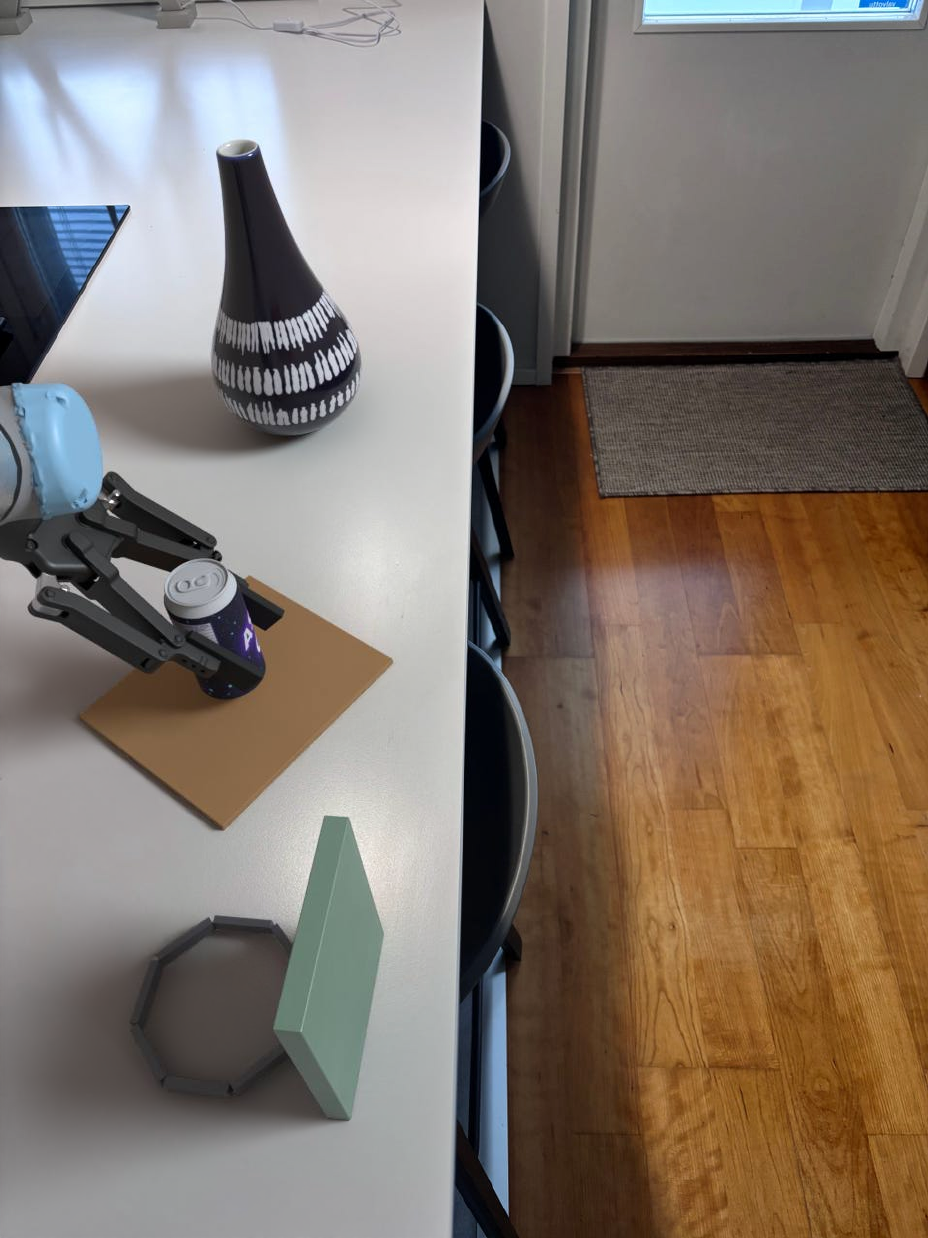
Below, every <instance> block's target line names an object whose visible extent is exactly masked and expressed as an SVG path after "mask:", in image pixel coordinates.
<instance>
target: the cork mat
mask: <svg viewBox="0 0 928 1238" xmlns="http://www.w3.org/2000/svg"><path fill="white" fill-rule="evenodd" d="M244 579H245V580H246V582H247V583H248V584H249V586H248V588H249V589H251V590H252V591H254V592H256V593H257V594H259V595H260V596H262V597H264V598H265V599H267V600H269V601H270V602H272V603H274V604H275V605H277V606H278V607H280V608H282V609H283V610H285V612H284V615H283V617H282V618H281V619H280V620H279V621H277V622H276V623H275V624H274V625H272V626H271V627H270V628H269V629H267V630H266V631H264V630H262V629H261V628H259V627H257V626H255V625H254V624H252V625H253V628H254V631H255V634H256V637H257V640H258V643H259V646H260V649H261V651H262V654H263V657H264V660H265V664H266V671H265V675H264V677H263V679H262V681H261V682H260V684H259V685H258V686H257V687H256V688H255V689H254V690H252V691H251V692H249V693H248V694H246V695H244V696H242V697H239V698H235V699H228V700H222V699H216V698H213V697H210V696H208V695H207V694H206V693H204V692H203V691H202V689H201V688H200V686H199V683H198V681H197V679H196V676H195V674H194V672H192V671H191V670H188V669H187V668H185V667H183V666H181V665H179V664H178V663H176V662H173V661H167V662H165V663H164V664H163V665H162V666H161V667H160V668H158V669H157V670H156V671H155V672H154V673H152V674H146V673H144V672H142V671H140V670H138V669H137V668H135V667H134V669H133V670H132V671H130V672H129V673H128V674H127V675H125V677H123V678H122V679H121V680H119V681H118V682H117V683H115V684H114V685H113V686H112V687H111V688H110V689H108V691H106V692H105V693H104V694H103V695H101V696H100V697H98V698H97V699H96V700H95V701H94V702H93V703H92V704H90V705H89V706H87V707H86V709H84V710H82V711H81V712H80V713H79V714H78V718H79V720H80V721H82V722H83V723H84V724H86V725H87V726H88V727H89V728H91V729H92V730H94V731H95V732H96V733H98V735H100V736H101V737H103V738H104V739H105V740H106V741H107V742H109V743H110V744H112V745H113V746H114V747H115V748H117V749H118V750H119V751H120V752H122V754H124V755H126V756H127V757H128V758H130V759H131V760H132V761H134V762H135V763H136V764H137V765H139V766H140V767H141V768H143V769H144V770H145V771H146V772H148V773H149V774H151V776H153V777H154V778H156V779H157V780H158V781H159V782H161V783H162V784H163V785H165V786H166V787H167V788H168V789H170V790H171V791H172V792H174V793H175V794H176V795H177V796H179V797H180V798H181V799H183V800H184V801H185V802H187V803H188V804H189V805H190V806H192V807H193V808H194V809H196V810H197V811H198V812H199V813H201V814H202V815H203V816H205V817H206V818H207V819H209V820H210V821H211V822H213V823H214V824H215V825H216V826H217V827H218V828H220V829H222V830H223V831H225V830H226V829H227V828H228V827H229V826H230V825H231V824H232V823H233V822H234V821H235V820H236V819H237V818H238V817H239V816H240V815H241V814H242V813H243V812H244V811H245V810H246V809H247V808H248V807H249V806H250V805H251V804H252V803H253V802H254V801H256V800H257V798H258V797H259V796H260V795H262V794H263V792H265V790H267V789H268V787H270V785H271V784H273V782H274V781H276V780H277V779H278V777H280V776H281V775H282V774H283V773H284V772H285V771H286V770H287V769H288V768H289V767H291V766H290V765H292V764H293V763H294V762H295V761H296V760H297V759H298V758H300V756H301V755H302V754H303V753H304V752H305V751H306V750H307V749H309V747H310V746H311V745H312V744H313V743H314V742H315V741H316V740H317V739H319V737H320V736H321V735H323V733H324V732H325V731H326V730H327V729H328V728H329V727H331V725H332V724H334V723H335V721H337V719H338V718H340V716H341V715H343V713H345V711H346V710H348V709H349V707H351V705H352V704H354V703H355V702H356V701H357V699H359V698H360V697H361V696H362V695H363V694H364V693H365V692H366V691H367V690H368V689H369V688H370V687H371V686H372V685H373V684H374V683H375V682H376V681H377V680H378V679H379V678H380V677H381V676H382V675H383V674H384V673H385V672H386V671H387V670H388V669H389V668H390V667H391V666H392V665H393V664H394V660H393V658H392V657H390V656H389V655H387V654H385V653H383V652H381V650H378V649H376V648H374V647H373V646H371V645H369V644H368V643H366V642H364V641H362V640H361V639H359V638H358V637H356V636H354V635H353V634H350V633H349V632H347V631H346V630H345V629H342V628H340V627H339V626H338V625H335V624H334V623H332V622H331V621H329V620H327V619H325V618H324V617H322V616H320V615H319V614H316V613H315V612H314V611H311V610H310V609H308V608H307V607H304V606H303V605H301V604H299V603H298V602H297V601H294V600H293V599H291V598H290V597H288V596H285V595H284V594H283V593H281V592H279V591H277V590H276V589H274V588H273V587H270V586H269V585H267V584H265V583H264V582H262V581H260V580H259V579H257V578H255V577H254V576H252V575H251V574H249V575H247V576H246V577H245V578H244Z"/></svg>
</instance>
